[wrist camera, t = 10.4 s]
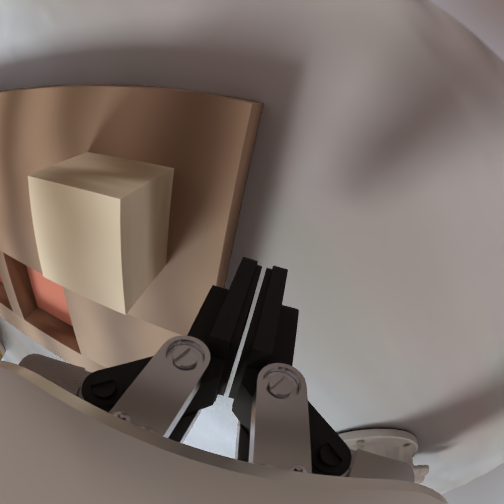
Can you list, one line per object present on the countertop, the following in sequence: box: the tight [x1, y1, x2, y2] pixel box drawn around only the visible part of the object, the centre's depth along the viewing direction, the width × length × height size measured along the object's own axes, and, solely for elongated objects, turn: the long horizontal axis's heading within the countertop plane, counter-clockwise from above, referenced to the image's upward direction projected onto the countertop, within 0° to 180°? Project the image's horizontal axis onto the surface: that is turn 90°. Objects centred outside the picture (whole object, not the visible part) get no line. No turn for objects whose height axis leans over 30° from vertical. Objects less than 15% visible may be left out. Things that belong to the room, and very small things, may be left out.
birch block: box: [28, 152, 174, 315], centre depth 12 cm, size 5×5×4 cm
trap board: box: [0, 84, 264, 372], centre depth 17 cm, size 30×24×5 cm
